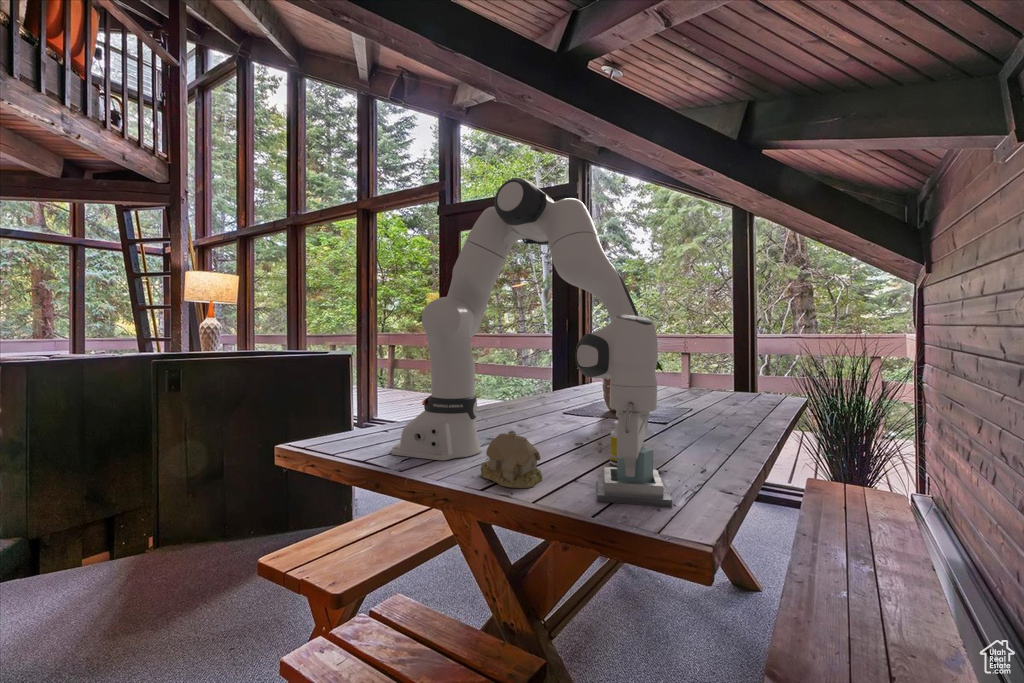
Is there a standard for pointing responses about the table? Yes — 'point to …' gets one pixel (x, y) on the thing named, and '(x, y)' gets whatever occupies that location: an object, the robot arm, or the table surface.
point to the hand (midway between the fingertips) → (632, 471)
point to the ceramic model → (512, 462)
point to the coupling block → (638, 468)
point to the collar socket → (632, 490)
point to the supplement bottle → (614, 445)
